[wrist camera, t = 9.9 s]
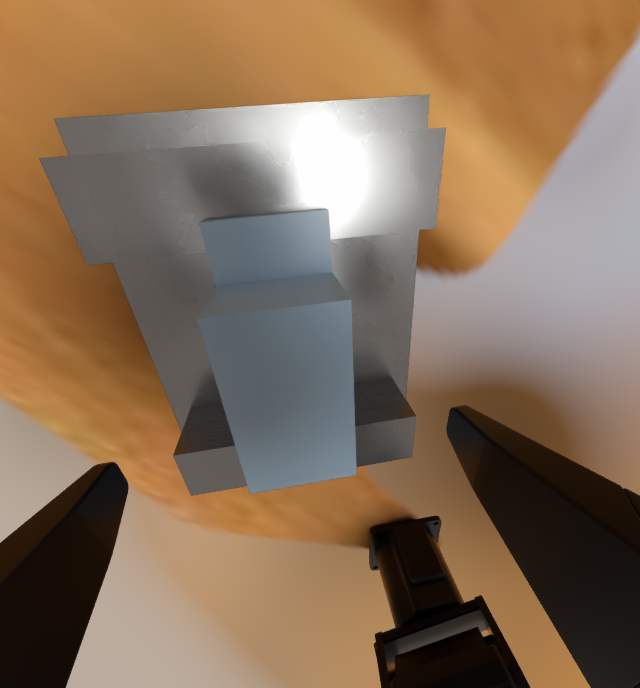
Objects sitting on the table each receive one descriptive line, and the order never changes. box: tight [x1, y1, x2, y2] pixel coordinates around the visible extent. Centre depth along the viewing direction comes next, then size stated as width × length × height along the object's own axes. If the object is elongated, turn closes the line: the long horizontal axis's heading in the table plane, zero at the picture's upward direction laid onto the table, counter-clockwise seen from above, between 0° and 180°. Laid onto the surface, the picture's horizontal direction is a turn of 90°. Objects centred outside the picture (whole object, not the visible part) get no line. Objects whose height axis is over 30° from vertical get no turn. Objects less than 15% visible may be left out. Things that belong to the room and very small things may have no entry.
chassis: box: [39, 95, 446, 496], centre depth 14 cm, size 18×14×4 cm
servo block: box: [197, 208, 357, 494], centre depth 12 cm, size 11×4×7 cm, turn 4°
